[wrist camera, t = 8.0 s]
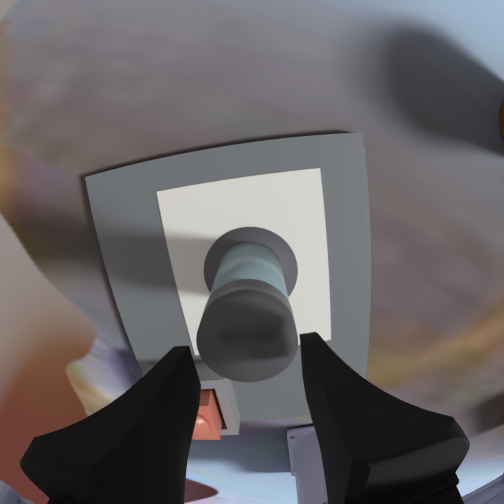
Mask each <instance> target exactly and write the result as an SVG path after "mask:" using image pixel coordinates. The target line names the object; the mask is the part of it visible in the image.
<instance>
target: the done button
mask: <svg viewBox="0 0 504 504" xmlns="http://www.w3.org/2000/svg"><path fill="white" fill-rule="evenodd" d="M221 427H222V415H221V411H220V408H219V405H218V402H217V399H216V395H215V392H214V389H201V395H200V405H199V411H198V415H197V419H196V424H195V428H194V432H193V436H192V440H220V436H221Z"/></svg>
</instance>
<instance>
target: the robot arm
mask: <svg viewBox="0 0 504 504" xmlns="http://www.w3.org/2000/svg"><path fill="white" fill-rule="evenodd" d="M299 336H300V349H301V363H302V377H303V383H304V389H305V396H306V400H307V404H308V407H309V411H310V414H311V418H312V421H313V425H314V426H310V427H303V428H295V429H290V430H288V431H287V440H288V449H289V458H290V467H291V475H292V476H295V478H296V488H297V499H298V504H504V473H503V475H501V476H500V477H498V478H496V479H495V480H493V481H491V482H489V483H488V484H486V485H484V486H482V487H480V488H479V489H477V490H475V491H473V492H471V493H469V494H467V495H465V496H463V497H461V495H460V493H459V491H458V488H457V486H456V485H457V484H458V483H459V479H458V477H457V475H456V473H455V472H456V470H457V469H458V467H459V466H460V464H461V463H462V461H463V460H464V458H465V456H466V454H467V452H468V450H469V444H470V442H469V440H468V438H467V437H466V435H465V433H464V432H463V430H462V428H461V427H460V426H459V424H458V423H457V422H456V421H455V419H454V418H453V417H450V416H446V415H443V414H439V413H435V412H431V411H428V410H425V409H422V408H419V407H417V406H414V405H411V404H409V403H406V402H404V401H402V400H400V399H398V398H396V397H394V396H392V395H390V394H388V393H386V392H384V391H382V390H381V389H379V388H377V387H376V386H374V385H373V384H371V383H370V382H368V381H367V380H366V379H364V378H363V377H362V376H360V375H359V374H358V373H357V372H356V371H354V370H353V369H352V368H351V367H350V366H348V365H347V364H346V363H345V362H344V361H343V360H342V359H341V358H340V357H339V356H338V355H337V354H336V353H335V352H334V351H333V350H332V349H331V348H330V347H329V346H328V345H327V343H326V342H325V341H324V340H323V339H322V337H321V336H320V335H319V334H318V333H317V332H311V333H304V334H299ZM200 395H201V383H200V380H199V376H198V373H197V370H196V367H195V364H194V360H193V357H192V354H191V350H190V347H189V346H174V347H173V348H172V349H171V350H170V351H169V352H168V353H167V354H166V355H165V356H164V357H163V358H162V359H161V360H160V361H159V362H158V363H157V364H156V365H155V366H154V367H153V368H152V369H151V370H150V371H149V372H147V373H146V374H145V375H144V376H143V377H142V378H141V379H140V380H139V381H138V382H137V383H135V384H134V385H133V386H132V387H131V388H130V389H129V390H127V391H126V392H125V393H124V394H123V395H121V396H120V397H119V398H117V399H116V400H114V401H113V402H112V403H110V404H109V405H107V406H106V407H104V408H102V409H101V410H99V411H97V412H96V413H94V414H92V415H90V416H89V417H87V418H85V419H83V420H81V421H79V422H77V423H75V424H72V425H70V426H68V427H65V428H63V429H60V430H57V431H55V432H51V433H48V434H45V435H41V436H38V437H35V438H34V439H33V441H32V442H31V444H30V446H29V447H28V449H27V451H26V452H25V454H24V456H23V457H22V459H21V461H20V466H21V469H22V470H23V471H24V473H25V474H26V476H27V477H28V478H29V479H30V480H31V481H32V482H33V483H34V484H35V485H36V486H37V487H38V488H39V489H41V491H43V492H44V493H45V494H46V495H47V496H48V497H49V498H50V499H49V501H48V503H47V504H184V491H185V478H186V467H187V459H188V454H189V449H190V445H191V440H192V436H193V432H194V428H195V424H196V419H197V415H198V411H199V405H200ZM0 504H35V503H32V502H31V501H28V500H26V499H24V498H22V497H20V496H19V494H18V493H17V492H15V490H13V489H12V488H11V487H10V486H9V485H7V484H6V483H4V482H3V481H1V480H0Z"/></svg>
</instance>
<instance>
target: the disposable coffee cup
mask: <svg viewBox="0 0 504 504" xmlns="http://www.w3.org/2000/svg"><path fill="white" fill-rule="evenodd" d="M500 123H501V131H502V135H503V139H504V101H503V104H502V107H501V113H500Z"/></svg>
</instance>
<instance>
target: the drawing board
mask: <svg viewBox="0 0 504 504" xmlns="http://www.w3.org/2000/svg"><path fill="white" fill-rule="evenodd" d="M85 180H86V185H87V191H88V196H89V201H90V206H91V211H92V215H93V220H94V224H95V229H96V233H97V237H98V241H99V245H100V249H101V253H102V257H103V260H104V264H105V267H106V271H107V274H108V278H109V281H110V285H111V288H112V291H113V294H114V297H115V301H116V304H117V307H118V310H119V313H120V316H121V319H122V321H123V324H124V327H125V330H126V333H127V335H128V338H129V341H130V344H131V346H132V349H133V351H134V354H135V356H136V359H137V361H138V364H139V366H140V369H141V371H142V374H143V376H144V375H145V374H146V373H147V372H149V371H150V370H151V369H152V368H153V367H154V366H155V365H156V364H157V363H158V362H159V361H160V360H161V359H162V358H163V357H164V356H165V355H166V354H167V353H168V352H169V351H170V350H171V349H172V348H173V347H174V346H189V347H190V350H191V354H192V357H193V360H194V364H195V367H196V370H197V373H198V376H199V380H200V383H201V389H214V392H215V395H216V399H217V402H218V405H219V408H220V411H221V415H222V427H221V435H239V426H240V422H243V421H257V420H268V419H278V418H286V417H294V416H302V415H308V414H310V411H309V407H308V404H307V400H306V396H305V389H304V383H303V377H302V363H301V349H300V336H299V334H304V333H311V332H317V333H318V334H319V335H320V336H321V337H322V339H323V340H324V341H325V342H326V343H327V345H328V346H329V347H330V348H331V349H332V350H333V351H334V352H335V353H336V354H337V355H338V356H339V357H340V358H341V359H342V360H343V361H344V362H345V363H346V364H347V365H348V366H350V367H351V368H352V369H353V370H354V371H356V372H357V373H358V374H359V375H360V376H362V377H363V378H364V379H366V370H367V358H368V345H369V328H370V305H371V235H370V211H369V194H368V181H367V169H366V159H365V150H364V141H363V133H362V132H361V133H341V134H326V135H313V136H302V137H292V138H282V139H273V140H265V141H257V142H250V143H243V144H236V145H229V146H223V147H217V148H211V149H205V150H200V151H194V152H189V153H184V154H179V155H174V156H169V157H164V158H159V159H155V160H150V161H146V162H141V163H137V164H133V165H129V166H125V167H121V168H117V169H113V170H109V171H106V172H102V173H98V174H95V175H91V176H87V177H85ZM243 242H257V243H261V244H263V245H266V246H267V247H269V248H270V249H271V250H273V251H274V252H275V254H276V255H277V256H278V258H279V260H280V263H281V267H282V271H283V276H284V280H285V285H286V289H287V294H288V299H289V303H290V305H291V308H292V312H293V316H294V321H295V325H296V330H297V335H298V348H297V352H296V355H295V357H294V359H293V361H292V362H291V363H290V365H289V366H288V367H287V368H286V369H285V370H284V371H282V372H281V373H279V374H278V375H276V376H274V377H272V378H270V379H267V380H263V381H259V382H238V381H233V380H229V379H227V378H224V377H222V376H220V375H218V374H217V373H215V372H213V371H212V370H211V369H210V368H209V367H208V366H207V365H206V364H205V363H204V361H203V360H202V359H201V357H200V355H199V352H198V349H197V345H196V336H197V331H198V328H199V325H200V321H201V318H202V315H203V312H204V309H205V305H206V303H207V301H208V299H209V296H210V293H211V290H212V287H213V283H214V280H215V277H216V274H217V271H218V267H219V264H220V261H221V259H222V257H223V255H224V254H225V253H226V252H227V251H228V250H229V249H230V248H231V247H233V246H235V245H237V244H239V243H243ZM143 376H142V377H143Z"/></svg>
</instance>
